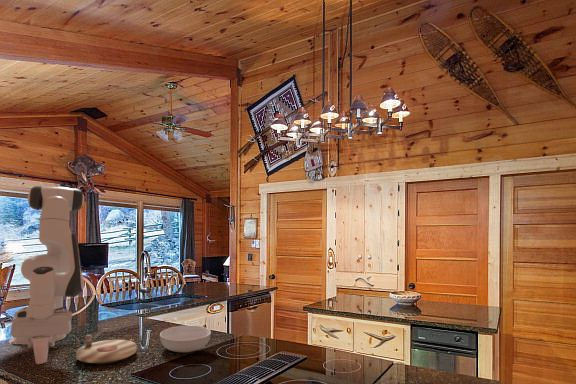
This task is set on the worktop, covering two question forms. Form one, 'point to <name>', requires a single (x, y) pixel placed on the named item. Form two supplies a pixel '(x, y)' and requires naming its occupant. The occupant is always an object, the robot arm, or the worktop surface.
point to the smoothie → (41, 348)
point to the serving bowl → (185, 338)
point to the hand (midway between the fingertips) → (41, 346)
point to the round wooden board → (105, 350)
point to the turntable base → (106, 362)
